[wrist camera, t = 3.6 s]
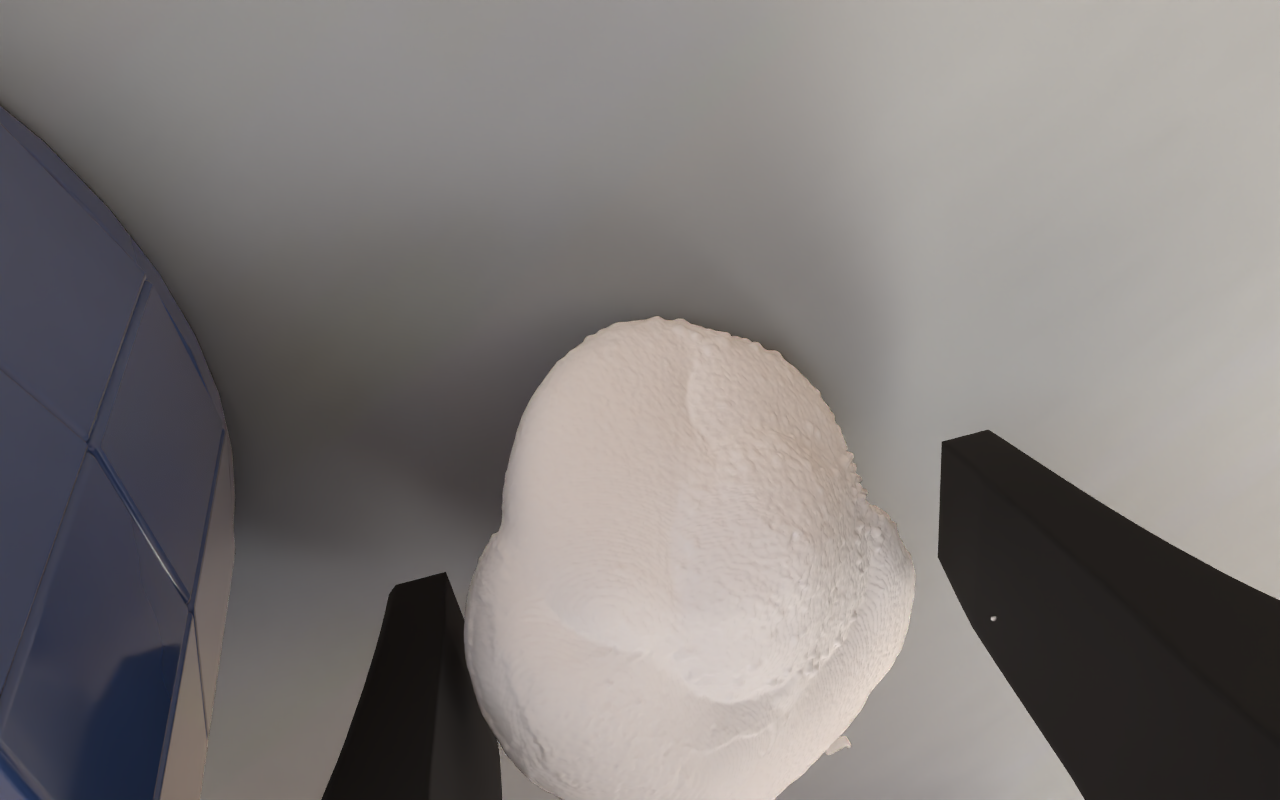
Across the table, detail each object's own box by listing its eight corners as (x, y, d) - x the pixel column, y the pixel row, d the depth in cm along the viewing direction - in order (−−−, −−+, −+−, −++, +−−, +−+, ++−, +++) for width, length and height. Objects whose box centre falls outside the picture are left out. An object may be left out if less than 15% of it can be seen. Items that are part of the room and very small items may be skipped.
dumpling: (344, 485, 13) (334, 663, 10) (644, 203, 13) (753, 274, 9) (686, 767, 16) (779, 987, 12) (938, 540, 16) (1109, 698, 12)
